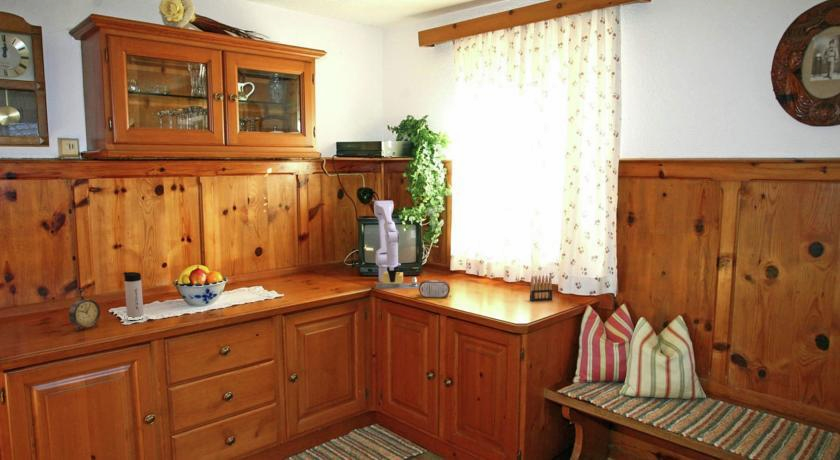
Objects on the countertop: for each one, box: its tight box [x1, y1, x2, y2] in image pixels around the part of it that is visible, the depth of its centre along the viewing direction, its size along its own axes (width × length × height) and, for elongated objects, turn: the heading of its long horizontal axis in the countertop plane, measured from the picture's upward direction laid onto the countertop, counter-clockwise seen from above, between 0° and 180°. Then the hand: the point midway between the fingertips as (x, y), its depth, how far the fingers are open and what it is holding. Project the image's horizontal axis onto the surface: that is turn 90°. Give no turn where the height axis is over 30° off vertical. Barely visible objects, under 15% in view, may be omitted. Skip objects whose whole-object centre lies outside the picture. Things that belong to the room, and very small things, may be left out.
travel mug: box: [122, 271, 144, 318], centre depth 245 cm, size 6×7×20 cm
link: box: [381, 271, 404, 283], centre depth 303 cm, size 10×10×4 cm
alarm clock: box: [68, 288, 101, 332], centre depth 232 cm, size 11×5×16 cm, turn 155°
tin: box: [418, 279, 451, 299], centre depth 282 cm, size 15×3×8 cm, turn 84°
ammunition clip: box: [529, 274, 553, 302], centre depth 275 cm, size 11×2×12 cm, turn 101°
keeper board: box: [374, 282, 421, 290], centre depth 303 cm, size 13×26×1 cm, turn 89°
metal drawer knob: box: [411, 276, 418, 287], centre depth 303 cm, size 4×4×4 cm
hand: (392, 281), depth 298 cm, fingers closed on link
